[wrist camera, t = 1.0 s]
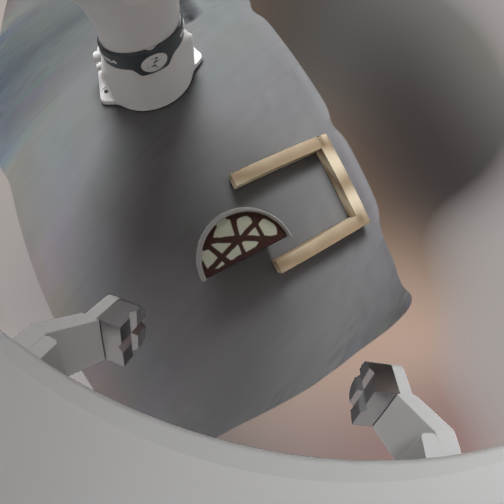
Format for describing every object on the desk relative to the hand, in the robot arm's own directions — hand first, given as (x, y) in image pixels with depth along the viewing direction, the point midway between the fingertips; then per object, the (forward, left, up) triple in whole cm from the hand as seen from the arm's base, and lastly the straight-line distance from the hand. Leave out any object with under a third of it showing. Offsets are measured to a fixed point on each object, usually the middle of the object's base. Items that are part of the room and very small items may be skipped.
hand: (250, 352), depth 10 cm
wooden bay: (-4, +16, -33) cm, 37 cm away
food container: (-4, +4, -33) cm, 34 cm away
